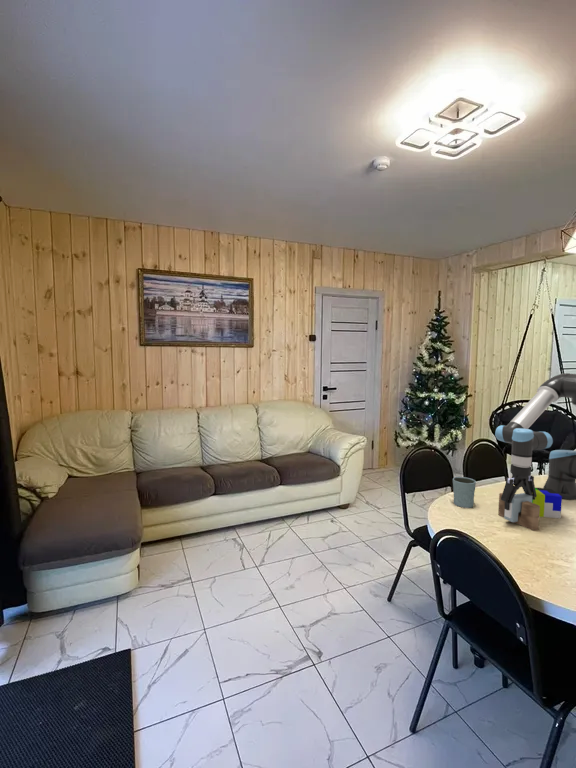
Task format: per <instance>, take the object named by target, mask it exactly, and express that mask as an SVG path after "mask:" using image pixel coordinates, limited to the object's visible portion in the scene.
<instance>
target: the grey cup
mask: <svg viewBox="0 0 576 768" xmlns="http://www.w3.org/2000/svg"><path fill="white" fill-rule="evenodd" d="M476 484H477V481H476V480H475V479H473V478H470V477H466V476H454V477H453V478H452V488H453V504H454V505H455V506H456V507H461V508H465V509H471V508H473V507H474V503H475V501H474V500H475V493H476V491H475V490H476Z"/></svg>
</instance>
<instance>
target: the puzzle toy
mask: <svg viewBox="0 0 576 768" xmlns="http://www.w3.org/2000/svg"><path fill="white" fill-rule="evenodd" d="M535 490H536V495H537V496H536V497H535V500H533V499H532V503H534V504H537V505H539V506H540V512H539V518H550V519H561V515H562V505H563V504H562V502H563V501H562V500H563V499H562V496H561V495H559V494H558V493H556V492H555V491H554V490H552V489H547V488H543V487H535Z"/></svg>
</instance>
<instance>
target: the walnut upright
mask: <svg viewBox="0 0 576 768" xmlns="http://www.w3.org/2000/svg"><path fill="white" fill-rule="evenodd" d="M502 494H503V492H500V493H499V494H498V495H499V496H498V513H497V514H498V516H500V517H502V518H504V513H505V508H504V507H505V502H504V501H502V500H501V497H502ZM539 512H540V506H539V505H537V504H534V503H531V502H529V501H526V502H522V509H521V513H519V512H518V521H517V522H514V523H515V524H516V525H519V526H521V527H524V528H525V529H528V530H530V531H537V530H539V524H540V517H539Z"/></svg>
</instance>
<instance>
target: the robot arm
mask: <svg viewBox="0 0 576 768" xmlns="http://www.w3.org/2000/svg"><path fill="white" fill-rule="evenodd" d="M561 398H569V399H571V404H572V405H573V406H575V407H576V373H567V372H565V373H560V374H557V375H555V376H552V377H550V378H549V379H547V380H545V381H544V382H543V383H542V384H541V385H540V386H538V388H537V389H536V393H535V394H534V396H533V397H531V399H530V400H529V401H528V402H527V403H526V404H525V405H524V406H523V407H522V409H520V411H518V413H517V414H516V415H515V416H514V417H513V418H512V419H511V420H510V422H509V423H507V425H504V424H503V425H502V424H501V425H499V426H497V427H496V429H495V433H494V435H495V438H496V440H498V441H500V442H503V443H505V444H506V443H508V444H511V456H510V457H511V458H510V471H509V472H510V473H511V475H512V476H511V478H509V477H506V479H505V483H504V484H505V485H504V487H503V490H502V493H503V494H502V497H501V500H502V501H504V502H505V507H504V508H505V516H506V517H508V518H511V517H512V503H511V501H512V499H513V497H514V495H515V494H517V491H518V490H519V489H520V488H522V490H523V493H525V494H527V495H530V496H532V499H533V500H535V497H536V496H537V495H536V490H535V488H536V487H535V476H533V475H531V474H532V464H533V451H537V450H538V451H539V450H541V451H542V450H546V449H549V448H551V447H552V445H553V443H554V439H553V437H552V435H551V434H550V433H549V432H546V431H540V430H539V431H534V430H532V429H529V428H530V427H532V425H533V424H534V423H535V422H536V420H537V419H538V418H539V417H540V416H541V415H542V414H543V413H544V412H545V411H546V410H547V408H549V406H550V405H551V404H552V403H554V402H557V401H558V400H559V399H561ZM542 488H547V489H552V490H554V491H555V492H556V493H558V494H559V495H561V496H562V500H576V451H575V450H571V449H555V450H551V451H550V453H549V457H548V474H547V479H546V481H545V483H544V485H543V487H542ZM508 499H509V500H508Z"/></svg>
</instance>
